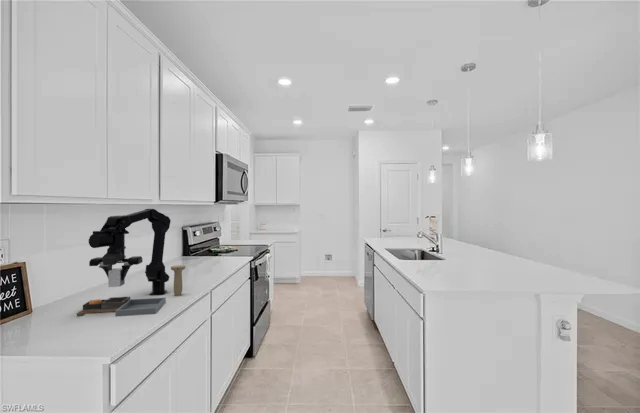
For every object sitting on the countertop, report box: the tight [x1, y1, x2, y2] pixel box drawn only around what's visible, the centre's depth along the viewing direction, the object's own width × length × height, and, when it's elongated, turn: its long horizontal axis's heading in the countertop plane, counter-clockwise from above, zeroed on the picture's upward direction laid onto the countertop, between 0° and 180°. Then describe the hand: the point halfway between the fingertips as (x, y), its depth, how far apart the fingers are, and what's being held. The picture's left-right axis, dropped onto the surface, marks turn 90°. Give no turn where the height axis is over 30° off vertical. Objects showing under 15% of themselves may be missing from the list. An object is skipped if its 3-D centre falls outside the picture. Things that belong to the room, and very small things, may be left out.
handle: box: [170, 264, 186, 297], centre depth 149 cm, size 5×6×15 cm
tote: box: [114, 297, 167, 317], centre depth 129 cm, size 15×15×3 cm
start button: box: [88, 299, 103, 304], centre depth 130 cm, size 4×4×2 cm
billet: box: [107, 267, 126, 288], centre depth 132 cm, size 4×4×7 cm
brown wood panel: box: [76, 296, 131, 317], centre depth 131 cm, size 15×16×4 cm
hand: (116, 280), depth 132 cm, fingers closed on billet, 4 cm apart
